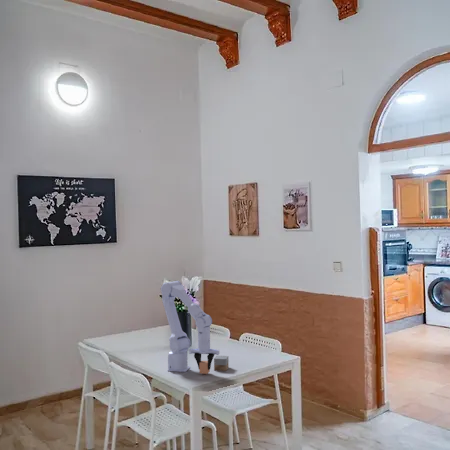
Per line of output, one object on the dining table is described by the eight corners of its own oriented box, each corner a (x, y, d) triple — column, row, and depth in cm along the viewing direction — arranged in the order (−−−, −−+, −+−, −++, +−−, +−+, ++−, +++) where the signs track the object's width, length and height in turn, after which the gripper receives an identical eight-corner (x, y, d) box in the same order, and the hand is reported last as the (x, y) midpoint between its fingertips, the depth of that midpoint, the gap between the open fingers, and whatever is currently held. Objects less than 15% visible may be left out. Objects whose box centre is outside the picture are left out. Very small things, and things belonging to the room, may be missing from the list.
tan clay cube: (199, 373, 233) (199, 362, 233) (201, 370, 237) (201, 360, 237) (207, 373, 232) (207, 363, 232) (209, 371, 236) (209, 361, 236)
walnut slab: (214, 370, 240) (214, 364, 240) (216, 367, 246) (216, 361, 246) (226, 371, 239) (226, 365, 239) (228, 367, 245) (228, 361, 245)
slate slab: (214, 364, 240) (214, 358, 240) (216, 361, 246) (216, 355, 246) (226, 365, 239) (225, 359, 239) (228, 361, 245) (228, 355, 245)
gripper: (187, 342, 232) (187, 370, 232) (216, 343, 229) (217, 372, 229) (191, 338, 239) (191, 366, 239) (220, 339, 236) (220, 367, 236)
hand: (204, 368), depth 234 cm, fingers closed on tan clay cube, 4 cm apart
